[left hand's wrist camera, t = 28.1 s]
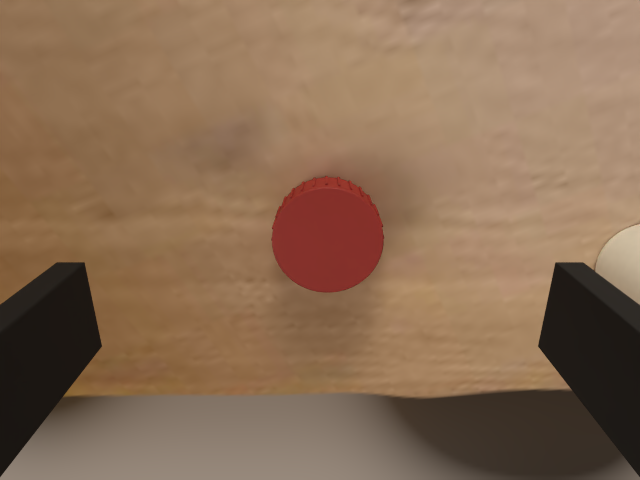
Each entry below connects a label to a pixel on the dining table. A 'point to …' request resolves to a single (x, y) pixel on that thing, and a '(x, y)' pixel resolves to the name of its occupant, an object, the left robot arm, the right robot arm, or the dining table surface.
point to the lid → (327, 235)
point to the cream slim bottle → (622, 262)
